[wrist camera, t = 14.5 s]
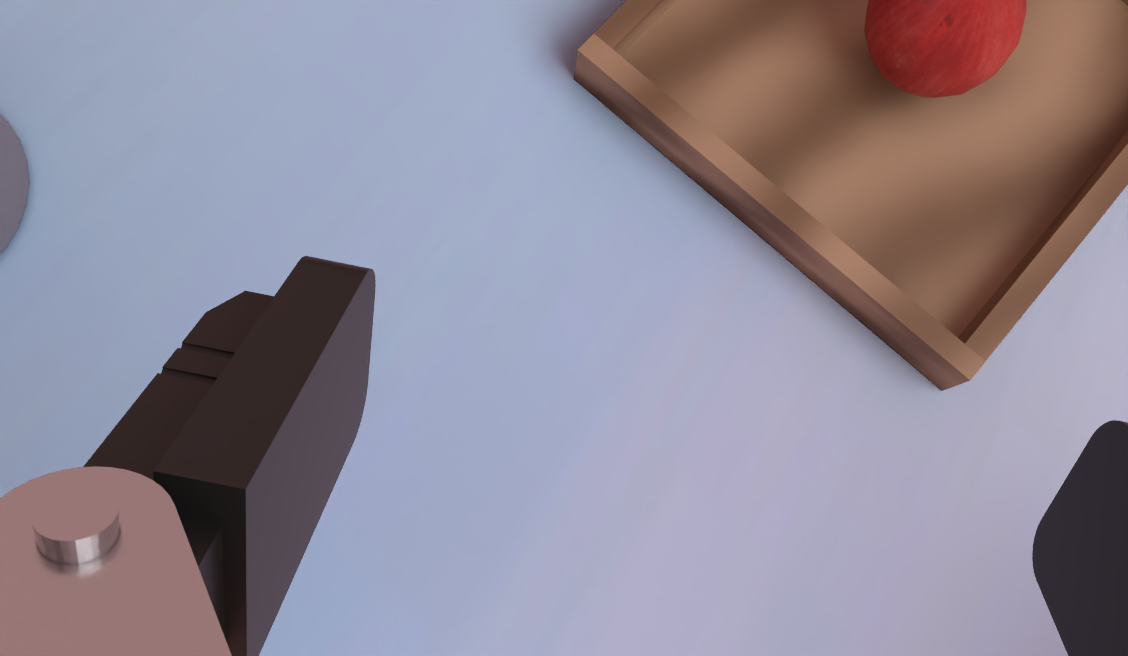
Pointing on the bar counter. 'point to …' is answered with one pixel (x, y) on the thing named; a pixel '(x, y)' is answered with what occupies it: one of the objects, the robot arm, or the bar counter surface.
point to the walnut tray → (884, 154)
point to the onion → (942, 42)
